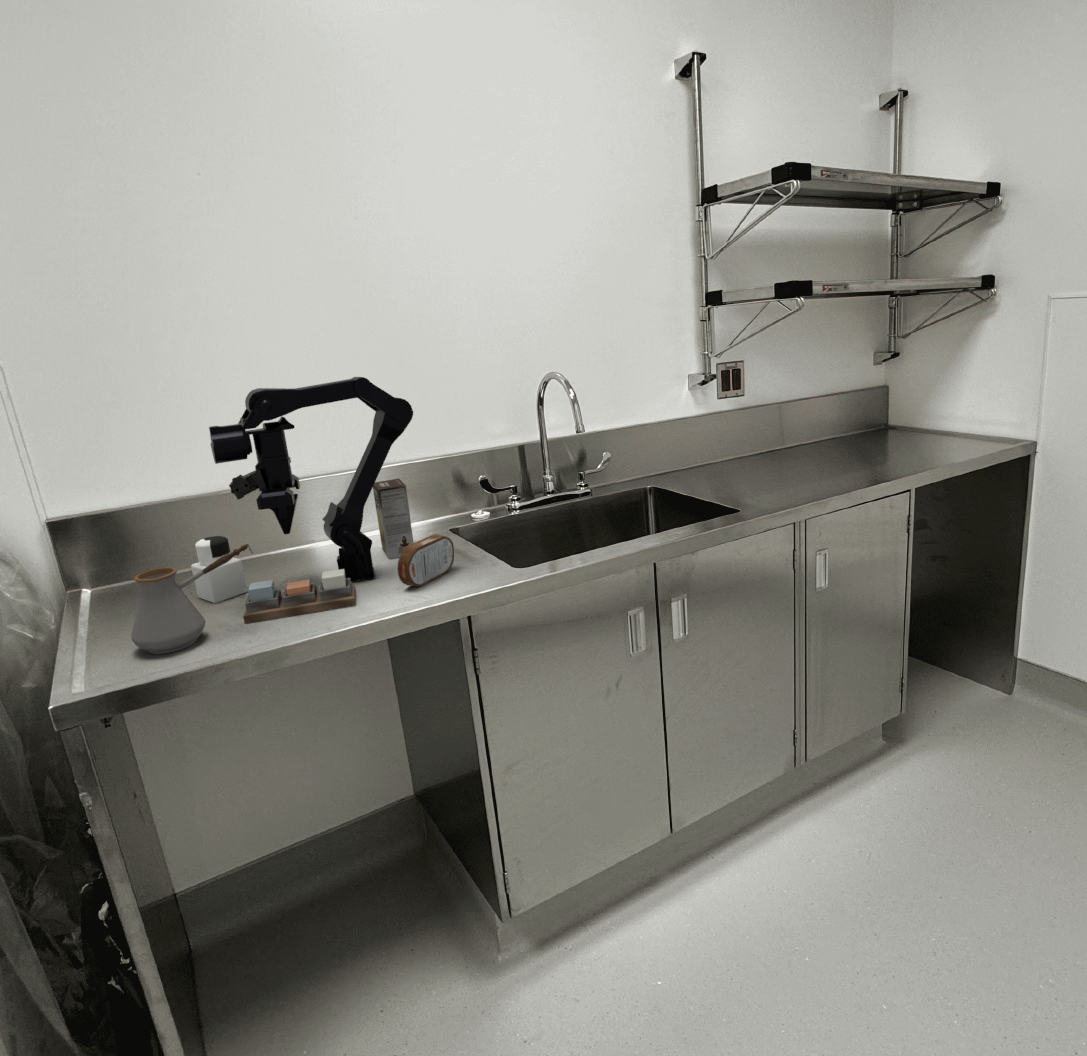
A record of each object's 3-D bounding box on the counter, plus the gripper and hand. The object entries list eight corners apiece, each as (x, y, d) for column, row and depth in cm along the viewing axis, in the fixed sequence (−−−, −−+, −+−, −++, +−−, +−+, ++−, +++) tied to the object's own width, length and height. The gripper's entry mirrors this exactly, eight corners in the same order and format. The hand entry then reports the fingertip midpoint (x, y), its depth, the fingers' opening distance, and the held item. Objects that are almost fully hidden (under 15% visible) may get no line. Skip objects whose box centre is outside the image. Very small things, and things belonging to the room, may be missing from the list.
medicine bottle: (230, 586, 154) (219, 531, 150) (248, 592, 149) (236, 535, 146) (197, 597, 148) (184, 541, 145) (214, 604, 144) (201, 545, 141)
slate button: (276, 594, 138) (273, 579, 138) (274, 601, 135) (271, 586, 134) (253, 598, 138) (250, 583, 137) (251, 605, 134) (247, 590, 133)
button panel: (355, 590, 144) (352, 575, 143) (355, 605, 136) (352, 588, 135) (250, 607, 140) (247, 591, 139) (244, 623, 132) (241, 606, 131)
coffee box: (381, 549, 171) (371, 482, 166) (408, 544, 173) (399, 477, 169) (388, 559, 162) (377, 489, 158) (416, 554, 165) (407, 484, 160)
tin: (447, 567, 154) (442, 528, 152) (459, 568, 152) (454, 529, 150) (399, 591, 142) (393, 550, 140) (411, 593, 140) (405, 551, 138)
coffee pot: (132, 665, 119) (109, 578, 114) (137, 640, 129) (116, 559, 125) (270, 633, 127) (254, 550, 123) (265, 612, 137) (249, 535, 133)
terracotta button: (312, 594, 140) (310, 579, 139) (311, 601, 136) (308, 585, 135) (290, 597, 139) (288, 582, 138) (289, 604, 135) (286, 589, 135)
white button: (346, 583, 141) (344, 568, 140) (346, 590, 137) (344, 575, 137) (325, 586, 140) (322, 572, 139) (324, 593, 137) (321, 578, 136)
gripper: (235, 453, 147) (250, 528, 151) (219, 468, 129) (236, 553, 133) (293, 446, 149) (306, 520, 153) (285, 461, 132) (300, 543, 136)
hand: (287, 533), depth 144 cm, fingers closed
